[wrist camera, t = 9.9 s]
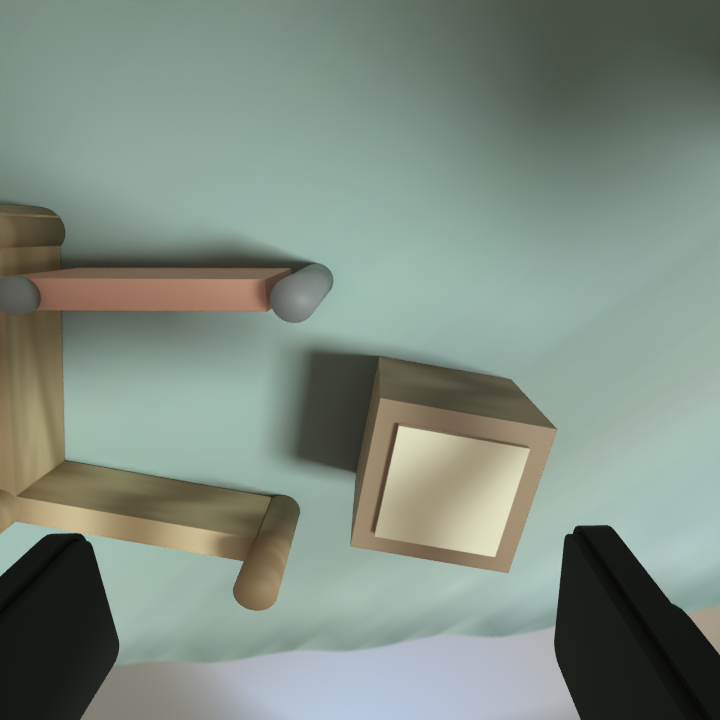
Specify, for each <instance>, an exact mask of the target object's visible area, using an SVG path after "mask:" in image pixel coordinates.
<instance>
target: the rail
mask: <svg viewBox="0 0 720 720" xmlns="http://www.w3.org/2000/svg"><path fill="white" fill-rule="evenodd" d="M332 286H333V276H332V273H331V271H330V270H329V269H328V268H327V267H326V266H324V265H322V264H312V265H309V266H307V267H305V268H303V269H301V270H299V271H297V272H295V273H293V274H292V268H100V267H81V268H72V269H64V270H56V271H47V272H39V273H31V274H22V275H14V276H6V277H0V311H2V312H3V313H5V314H7V315H11V316H17V315H21V314H26V313H30V312H33V311H35V310H73V311H234V312H267V311H269V310H270V309H273V311H274V312H275V314H276V315H277V316H278V317H279V318H281V319H282V320H284V321H287V322H291V323H298V322H302V321H304V320H306V319H307V318H309V317H310V316H311V314H312V313H313V312H314V311H315V309H316V308H317V307H318V305H319V304H320V303H321V302H322V300H323V299H324V298H325V296H326V295H327V294H328V293H329V291H330V290H331V288H332Z"/></svg>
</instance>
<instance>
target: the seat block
mask: <svg viewBox="0 0 720 720" xmlns="http://www.w3.org/2000/svg"><path fill="white" fill-rule="evenodd" d="M556 432H557V429H556V428H555V426H554V425H553V424H552V423H551V422H550V421H549V420H548V419H547V418H546V417H545V416H544V415H543V413H542V412H541V411H540V410H539V409H538V408H537V407H536V406H535V405H534V404H533V403H532V402H531V400H530V399H529V398H528V397H527V396H526V395H525V394H524V393H523V392H522V391H521V390H520V388H519V387H518V386H517V385H516V384H515V383H514V382H513V381H512V380H511V379H505V378H499V377H494V376H488V375H483V374H477V373H472V372H466V371H460V370H455V369H449V368H444V367H438V366H432V365H427V364H421V363H416V362H410V361H404V360H399V359H393V358H388V357H382V356H379V359H378V364H377V369H376V374H375V379H374V384H373V389H372V395H371V400H370V405H369V410H368V415H367V420H366V425H365V430H364V435H363V440H362V445H361V450H360V455H359V461H358V466H357V471H356V480H355V492H354V505H353V518H352V530H351V543H350V546H352V547H358V548H363V549H369V550H375V551H381V552H387V553H393V554H399V555H404V556H410V557H416V558H422V559H428V560H434V561H440V562H445V563H451V564H457V565H463V566H469V567H475V568H481V569H486V570H492V571H498V572H504V573H509V570H510V567H511V564H512V561H513V558H514V555H515V552H516V549H517V546H518V543H519V540H520V537H521V534H522V531H523V529H524V526H525V523H526V520H527V517H528V514H529V511H530V508H531V505H532V502H533V499H534V496H535V493H536V490H537V487H538V484H539V482H540V479H541V476H542V473H543V470H544V467H545V464H546V461H547V458H548V455H549V452H550V449H551V446H552V443H553V440H554V437H555V435H556Z"/></svg>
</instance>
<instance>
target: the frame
mask: <svg viewBox="0 0 720 720" xmlns="http://www.w3.org/2000/svg"><path fill="white" fill-rule="evenodd" d="M64 238H65V229H64V225H63V223H62V221H61V219H60V216H58V215H57V214H55V213H54V212H53V211H51V210H49V209H47V208H42V207H30V206H16V205H2V204H0V277H6V276H14V275H22V274H31V273H39V272H47V271H56V270H61V261H60V245H61V244H62V243H63V241H64ZM299 514H300V509H299V506H298V504H297V502H296V501H295V500H294V499H292V498H290V497H288V496H284V495H279V496H275V497H273V498H272V497H268V496H263V495H257V494H251V493H246V492H240V491H234V490H229V489H223V488H217V487H212V486H206V485H200V484H195V483H189V482H183V481H178V480H172V479H166V478H161V477H155V476H150V475H144V474H138V473H133V472H127V471H121V470H116V469H110V468H104V467H99V466H93V465H87V464H82V463H76V462H70V461H65V451H64V403H63V356H62V310H35V311H33V312H30V313H26V314H21V315H17V316H11V315H7V314H5V313H3V312H2V311H0V534H1V533H2V532H3V531H4V530H6V529H7V528H8V527H9V526H11V525H12V524H13V523H14V522H21V523H27V524H33V525H39V526H44V527H50V528H56V529H62V530H67V531H73V532H79V533H85V534H90V535H96V536H102V537H108V538H113V539H119V540H125V541H131V542H137V543H142V544H148V545H154V546H160V547H165V548H171V549H177V550H183V551H188V552H194V553H200V554H206V555H211V556H217V557H223V558H229V559H234V560H240V561H244V562H243V565H242V567H241V570H240V572H239V575H238V577H237V580H236V582H235V585H234V588H233V594H234V597H235V599H236V601H237V602H238V603H239V604H240V605H242V606H243V607H245V608H247V609H250V610H255V611H259V610H265V609H267V608H269V607H271V606H272V605H273V604H274V603H275V601H276V599H277V596H278V592H279V588H280V585H281V581H282V577H283V573H284V570H285V566H286V562H287V558H288V555H289V551H290V547H291V544H292V540H293V536H294V532H295V529H296V525H297V521H298V518H299Z"/></svg>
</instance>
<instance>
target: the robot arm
mask: <svg viewBox="0 0 720 720" xmlns="http://www.w3.org/2000/svg"><path fill="white" fill-rule="evenodd" d="M554 646H555V654H556V658H557V662H558V665H559V667H560V670H561V672H562V675H563V677H564V679H565V682H566V684H567V687H568V689H569V692H570V694H571V697H572V699H573V702H574V704H575V707H576V709H577V711H578V714H579V716H580V719H581V720H720V655H719V654H718V652H717V651H716V650H715V649H714V647H713V646H712V645H711V644H710V642H709V641H708V640H707V638H706V637H705V636H704V635H703V633H702V632H701V631H700V630H699V628H698V627H697V626H696V625H695V623H694V622H693V621H692V620H691V618H690V617H689V616H688V615H687V614H686V613H685V612H684V611H683V610H682V609H681V608H679V607H678V606H676V605H674V604H672V603H671V602H670V601H669V600H668V598H667V597H666V596H665V594H664V593H663V592H662V591H661V589H660V588H659V587H658V585H657V584H656V583H655V582H654V580H653V579H652V578H651V576H650V575H649V574H648V573H647V571H646V570H645V569H644V567H643V566H642V565H641V564H640V562H639V561H638V560H637V558H636V557H635V556H634V555H633V553H632V552H631V551H630V549H629V548H628V547H627V546H626V544H625V543H624V542H623V540H622V539H621V538H620V537H619V535H618V534H617V533H616V531H615V530H614V529H613V528H612V527H610V526H608V525H595V526H576V527H575V529H574V531H573V534H567V535H566V536H565V540H564V548H563V558H562V568H561V578H560V588H559V598H558V608H557V618H556V629H555V639H554ZM118 652H119V639H118V636H117V632H116V629H115V625H114V621H113V618H112V614H111V611H110V607H109V604H108V600H107V597H106V593H105V589H104V586H103V582H102V579H101V575H100V572H99V568H98V564H97V561H96V557H95V554H94V550H93V547H92V545H91V543H90V542H89V541H86V539H85V537H84V536H83V535H82V534H78V533H68V534H49V535H46V536H45V537H43V538H42V539H41V540H40V541H39V542H37V543H36V544H35V545H34V546H33V547H32V548H31V549H30V550H29V551H28V552H27V553H25V554H24V555H23V556H22V557H21V558H20V559H19V560H18V561H17V562H16V563H15V564H13V565H12V566H11V567H10V568H9V569H8V570H7V571H6V572H5V573H4V574H2V575H1V576H0V720H80V719H81V717H82V715H83V714H84V712H85V710H86V709H87V707H88V705H89V704H90V702H91V701H92V699H93V698H94V696H95V694H96V692H97V691H98V689H99V688H100V686H101V684H102V683H103V681H104V680H105V678H106V676H107V675H108V673H109V671H110V670H111V668H112V666H113V665H114V663H115V661H116V658H117V656H118Z"/></svg>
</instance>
